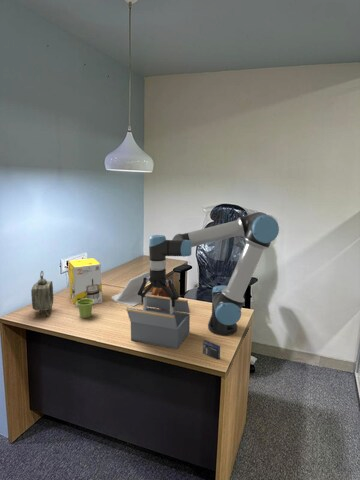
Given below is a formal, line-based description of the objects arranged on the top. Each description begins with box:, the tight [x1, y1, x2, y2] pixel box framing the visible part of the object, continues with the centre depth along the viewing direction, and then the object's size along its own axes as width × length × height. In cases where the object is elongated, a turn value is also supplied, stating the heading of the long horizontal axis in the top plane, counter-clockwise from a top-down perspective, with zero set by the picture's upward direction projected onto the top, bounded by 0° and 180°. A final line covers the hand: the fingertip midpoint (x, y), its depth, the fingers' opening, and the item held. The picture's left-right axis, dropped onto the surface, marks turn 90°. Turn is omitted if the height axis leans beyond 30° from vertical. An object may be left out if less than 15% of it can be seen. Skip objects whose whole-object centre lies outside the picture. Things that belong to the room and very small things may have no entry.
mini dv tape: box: [202, 339, 221, 360], centre depth 147 cm, size 8×2×6 cm, turn 51°
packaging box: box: [67, 257, 103, 308], centre depth 208 cm, size 16×16×25 cm
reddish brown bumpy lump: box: [151, 283, 171, 298], centre depth 197 cm, size 15×8×15 cm, turn 141°
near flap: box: [125, 306, 177, 330], centre depth 152 cm, size 24×9×1 cm
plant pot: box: [77, 299, 94, 319], centre depth 187 cm, size 9×9×9 cm
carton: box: [130, 307, 191, 350], centre depth 164 cm, size 24×18×10 cm
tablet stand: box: [111, 270, 152, 307], centre depth 215 cm, size 18×25×17 cm
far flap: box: [145, 294, 191, 314], centre depth 169 cm, size 24×9×1 cm
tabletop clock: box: [30, 270, 54, 317], centre depth 189 cm, size 14×9×25 cm, turn 12°
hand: (158, 311), depth 159 cm, fingers open, 13 cm apart
